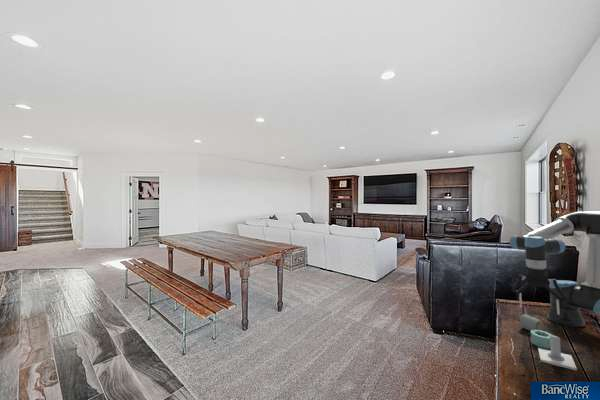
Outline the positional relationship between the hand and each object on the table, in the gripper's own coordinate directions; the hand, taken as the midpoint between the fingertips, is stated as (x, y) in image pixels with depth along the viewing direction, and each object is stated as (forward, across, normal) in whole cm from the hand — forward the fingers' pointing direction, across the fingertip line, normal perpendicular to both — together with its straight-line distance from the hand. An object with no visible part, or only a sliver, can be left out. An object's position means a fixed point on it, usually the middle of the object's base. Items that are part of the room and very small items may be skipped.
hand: (539, 310), depth 127 cm
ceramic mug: (+17, -3, +15) cm, 23 cm away
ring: (+17, 0, 0) cm, 17 cm away
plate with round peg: (+17, +5, -13) cm, 21 cm away
